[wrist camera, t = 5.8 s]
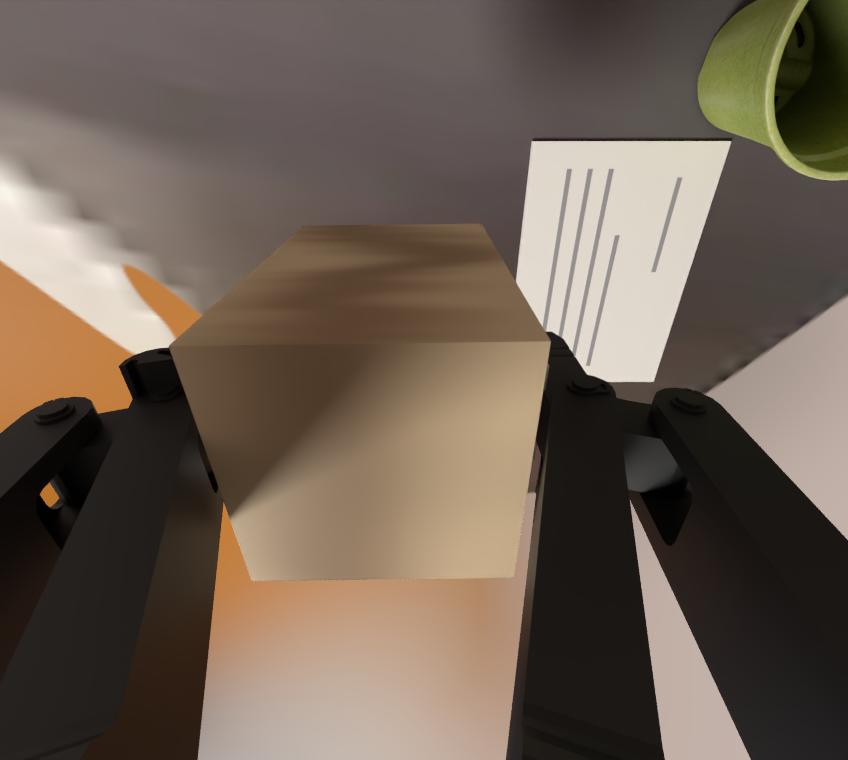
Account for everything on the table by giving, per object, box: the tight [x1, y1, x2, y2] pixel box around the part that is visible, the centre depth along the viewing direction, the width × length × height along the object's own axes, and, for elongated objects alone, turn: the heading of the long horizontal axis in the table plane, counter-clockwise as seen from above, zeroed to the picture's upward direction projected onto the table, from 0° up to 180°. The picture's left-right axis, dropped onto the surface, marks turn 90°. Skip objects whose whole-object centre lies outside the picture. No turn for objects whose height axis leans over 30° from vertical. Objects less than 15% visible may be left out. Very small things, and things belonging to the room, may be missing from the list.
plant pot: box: [697, 0, 848, 180], centre depth 21 cm, size 9×9×9 cm
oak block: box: [169, 224, 551, 581], centre depth 12 cm, size 6×6×9 cm
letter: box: [516, 141, 731, 382], centre depth 30 cm, size 12×17×1 cm
